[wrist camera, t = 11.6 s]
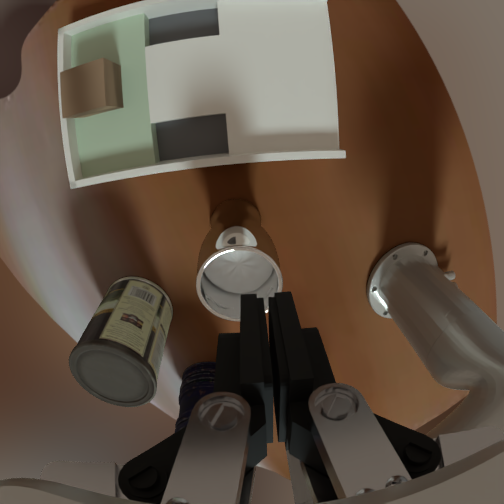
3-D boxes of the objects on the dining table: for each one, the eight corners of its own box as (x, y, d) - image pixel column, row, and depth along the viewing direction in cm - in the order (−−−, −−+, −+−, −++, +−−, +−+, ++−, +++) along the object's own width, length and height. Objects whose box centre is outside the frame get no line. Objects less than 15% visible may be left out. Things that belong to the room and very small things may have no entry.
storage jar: (187, 398, 49) (181, 469, 35) (176, 362, 45) (163, 439, 31) (242, 396, 49) (247, 468, 36) (238, 359, 45) (242, 439, 32)
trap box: (319, 3, 25) (330, -10, 21) (332, 153, 33) (345, 158, 29) (75, 36, 24) (58, 29, 20) (87, 181, 32) (70, 189, 28)
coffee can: (113, 332, 42) (84, 400, 29) (100, 274, 38) (56, 338, 25) (176, 337, 43) (162, 412, 30) (170, 277, 39) (147, 349, 26)
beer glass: (242, 183, 34) (249, 224, 21) (276, 228, 37) (302, 293, 23) (195, 217, 36) (174, 279, 22) (230, 259, 38) (231, 336, 24)
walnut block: (120, 65, 25) (103, 57, 21) (123, 107, 27) (105, 105, 23) (81, 77, 25) (60, 72, 20) (84, 117, 27) (62, 118, 22)
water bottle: (304, 434, 57) (325, 531, 34) (273, 429, 55) (289, 534, 32) (329, 411, 54) (360, 516, 31) (298, 406, 52) (323, 521, 29)
